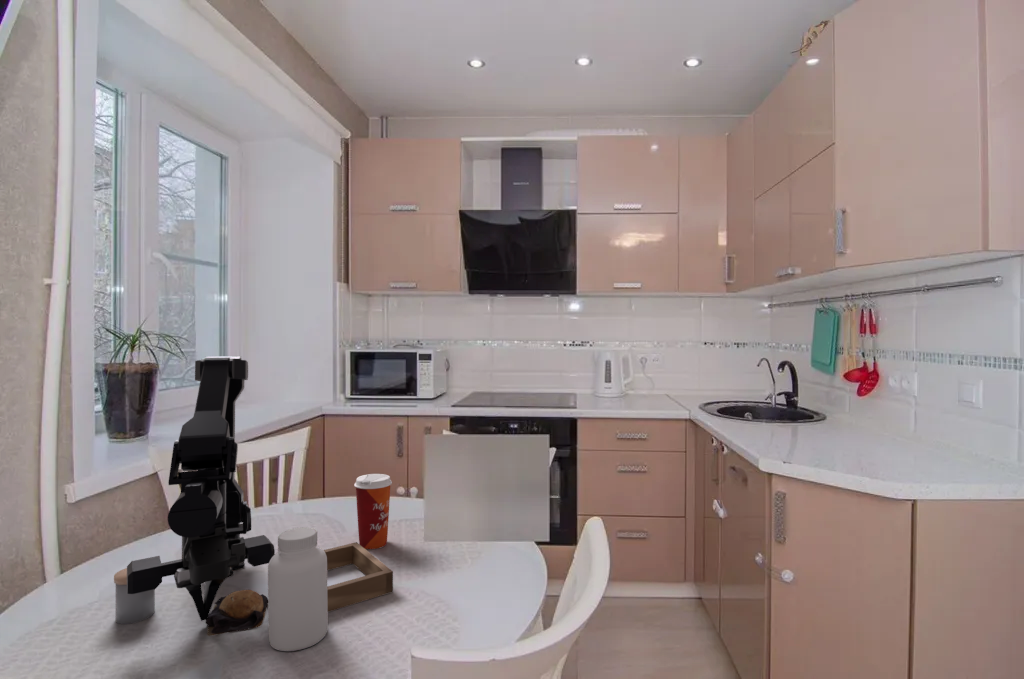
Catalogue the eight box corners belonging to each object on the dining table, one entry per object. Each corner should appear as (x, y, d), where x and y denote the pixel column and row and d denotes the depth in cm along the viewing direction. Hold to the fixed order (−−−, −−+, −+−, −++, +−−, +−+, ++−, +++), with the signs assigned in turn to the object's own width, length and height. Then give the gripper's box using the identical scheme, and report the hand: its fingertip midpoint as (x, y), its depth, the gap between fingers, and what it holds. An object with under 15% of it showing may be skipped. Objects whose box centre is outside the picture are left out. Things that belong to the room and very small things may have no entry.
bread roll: (213, 607, 87) (213, 584, 87) (270, 598, 90) (270, 576, 90) (200, 641, 77) (200, 615, 77) (265, 629, 80) (265, 605, 80)
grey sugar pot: (113, 613, 83) (113, 570, 83) (154, 603, 87) (155, 561, 87) (114, 628, 79) (114, 582, 79) (157, 617, 82) (157, 573, 82)
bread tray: (273, 581, 94) (273, 561, 94) (356, 560, 104) (356, 542, 104) (301, 620, 81) (301, 597, 81) (392, 591, 91) (392, 571, 91)
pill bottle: (279, 623, 80) (279, 524, 80) (333, 621, 81) (333, 523, 81) (258, 654, 72) (258, 544, 73) (319, 652, 73) (319, 542, 73)
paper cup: (382, 552, 107) (382, 483, 107) (347, 549, 109) (347, 481, 109) (398, 538, 115) (398, 473, 115) (365, 536, 116) (365, 471, 116)
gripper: (129, 545, 68) (128, 668, 68) (284, 516, 79) (283, 622, 79) (127, 521, 77) (126, 630, 77) (266, 499, 88) (265, 594, 88)
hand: (203, 619), depth 80 cm, fingers closed
